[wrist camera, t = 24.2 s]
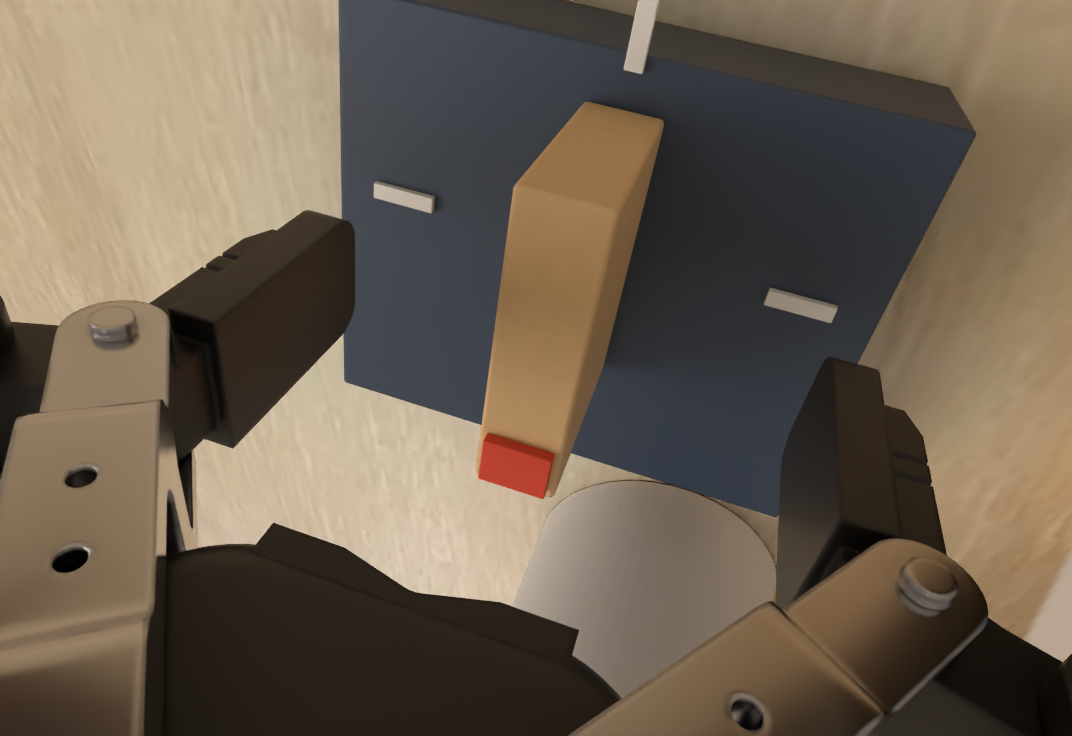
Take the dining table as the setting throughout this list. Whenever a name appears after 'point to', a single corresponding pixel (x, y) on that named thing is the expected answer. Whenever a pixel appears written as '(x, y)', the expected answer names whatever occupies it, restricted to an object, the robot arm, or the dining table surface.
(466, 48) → the console
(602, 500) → the beige solid cylinder
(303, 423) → the dining table surface
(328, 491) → the dining table surface
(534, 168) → the tan rectangular block
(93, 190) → the dining table surface
